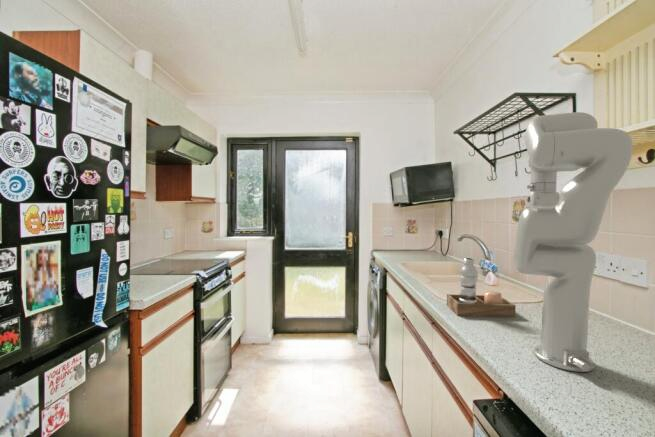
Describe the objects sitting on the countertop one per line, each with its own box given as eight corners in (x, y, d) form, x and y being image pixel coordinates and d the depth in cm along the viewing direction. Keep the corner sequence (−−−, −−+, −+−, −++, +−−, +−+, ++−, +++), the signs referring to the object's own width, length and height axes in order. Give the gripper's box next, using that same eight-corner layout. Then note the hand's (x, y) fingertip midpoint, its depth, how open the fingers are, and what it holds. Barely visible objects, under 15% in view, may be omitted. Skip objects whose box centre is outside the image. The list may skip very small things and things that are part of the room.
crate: (515, 318, 109) (515, 305, 109) (457, 317, 110) (457, 303, 110) (498, 308, 121) (499, 295, 121) (446, 306, 122) (447, 294, 122)
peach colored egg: (503, 314, 112) (504, 295, 112) (488, 313, 113) (488, 295, 112) (496, 308, 118) (496, 291, 118) (481, 308, 118) (481, 290, 118)
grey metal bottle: (468, 307, 120) (469, 256, 119) (481, 313, 113) (482, 260, 112) (454, 308, 118) (455, 257, 117) (466, 314, 111) (467, 260, 111)
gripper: (525, 187, 103) (523, 237, 104) (576, 188, 103) (573, 238, 104) (512, 188, 111) (510, 235, 112) (559, 189, 111) (557, 235, 111)
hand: (541, 236), depth 108 cm, fingers open, 9 cm apart
